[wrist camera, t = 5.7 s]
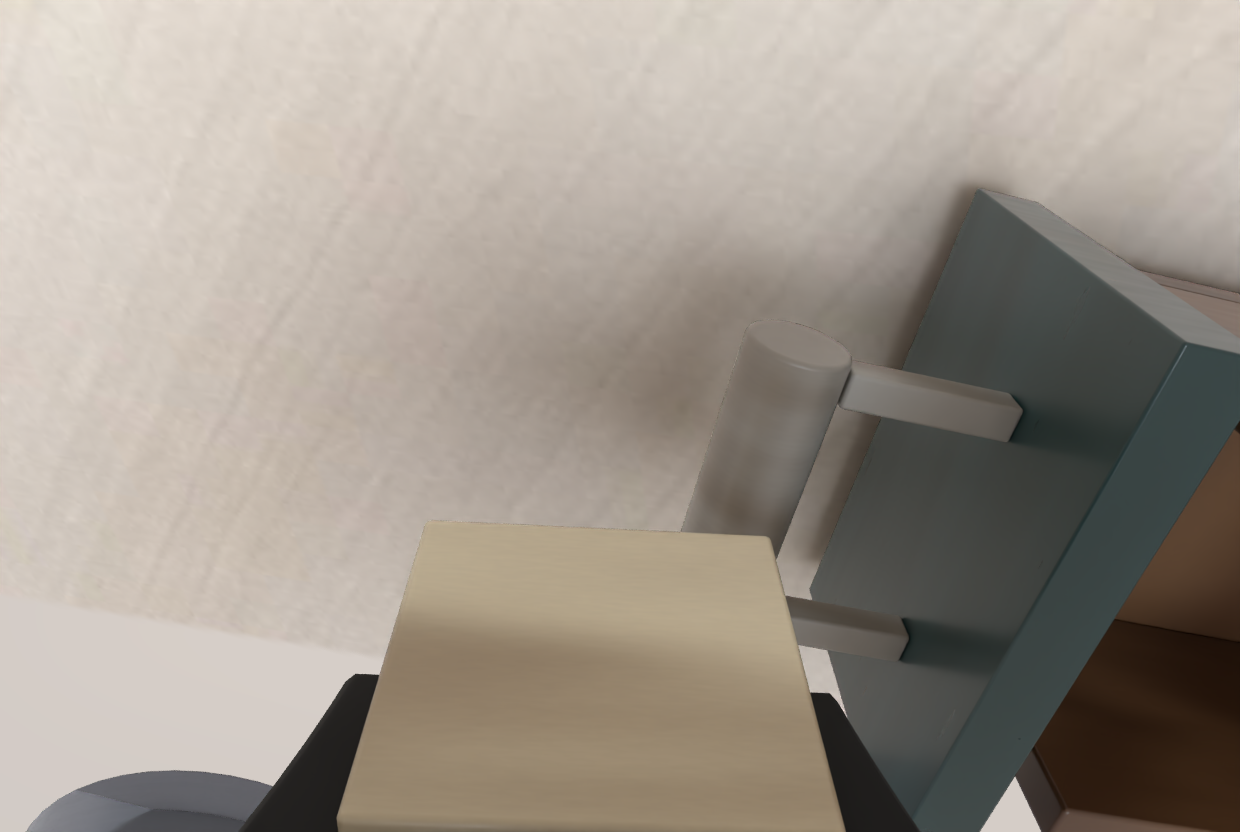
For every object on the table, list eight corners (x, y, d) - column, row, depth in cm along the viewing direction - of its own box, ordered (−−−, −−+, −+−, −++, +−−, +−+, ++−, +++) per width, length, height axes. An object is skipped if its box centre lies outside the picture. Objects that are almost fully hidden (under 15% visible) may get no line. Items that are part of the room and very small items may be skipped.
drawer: (624, 555, 20) (630, 822, 14) (747, 132, 16) (829, 261, 10) (1404, 696, 23) (1688, 976, 17) (1698, 360, 18) (2224, 576, 12)
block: (729, 771, 13) (775, 1102, 9) (435, 759, 12) (367, 1093, 9) (771, 533, 11) (851, 837, 7) (425, 516, 11) (332, 820, 7)
